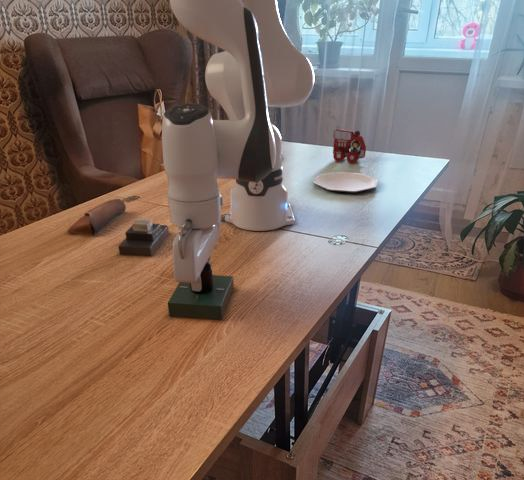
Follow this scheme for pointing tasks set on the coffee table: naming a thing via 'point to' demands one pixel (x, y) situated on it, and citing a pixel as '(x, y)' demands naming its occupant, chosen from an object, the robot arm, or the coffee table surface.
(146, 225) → the key
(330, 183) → the plate
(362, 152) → the toy fire truck
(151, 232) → the key block
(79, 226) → the sunglasses case
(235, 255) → the coffee table surface
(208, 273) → the volume dial
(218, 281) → the volume panel
